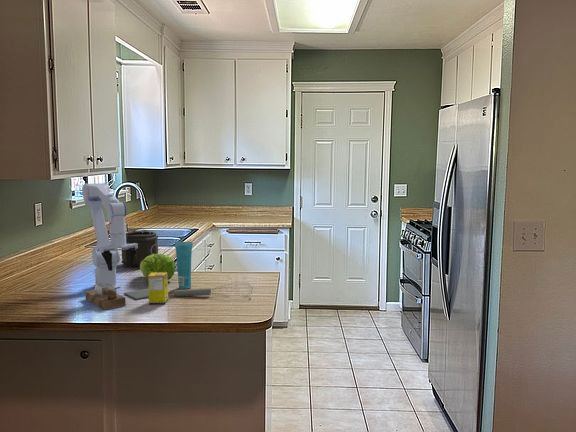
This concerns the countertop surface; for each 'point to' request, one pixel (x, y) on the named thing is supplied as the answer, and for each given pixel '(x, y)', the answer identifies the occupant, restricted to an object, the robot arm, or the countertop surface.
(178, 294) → the kitchen whisk
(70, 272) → the countertop surface
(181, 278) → the tube
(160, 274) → the supplement box
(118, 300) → the walnut plane
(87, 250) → the countertop surface
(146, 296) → the charcoal mat
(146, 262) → the lettuce
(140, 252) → the dark speckled bucket
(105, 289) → the lever cap
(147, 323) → the countertop surface
